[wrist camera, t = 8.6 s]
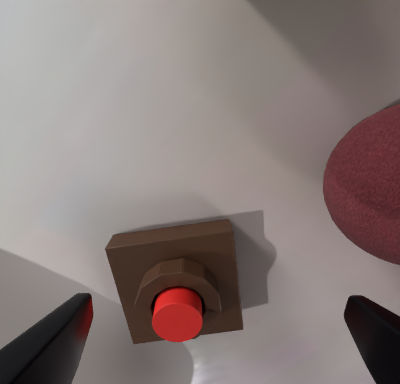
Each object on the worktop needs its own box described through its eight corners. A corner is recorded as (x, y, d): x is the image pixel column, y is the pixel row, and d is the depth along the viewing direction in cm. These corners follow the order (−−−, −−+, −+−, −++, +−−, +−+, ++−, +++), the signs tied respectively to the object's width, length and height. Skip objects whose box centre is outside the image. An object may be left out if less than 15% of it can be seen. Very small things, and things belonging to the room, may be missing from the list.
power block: (229, 218, 21) (237, 243, 18) (239, 310, 25) (247, 348, 21) (113, 234, 21) (96, 262, 18) (138, 324, 25) (128, 363, 21)
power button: (198, 283, 19) (198, 300, 17) (204, 319, 20) (205, 338, 18) (151, 289, 19) (147, 307, 17) (160, 325, 20) (157, 345, 18)
